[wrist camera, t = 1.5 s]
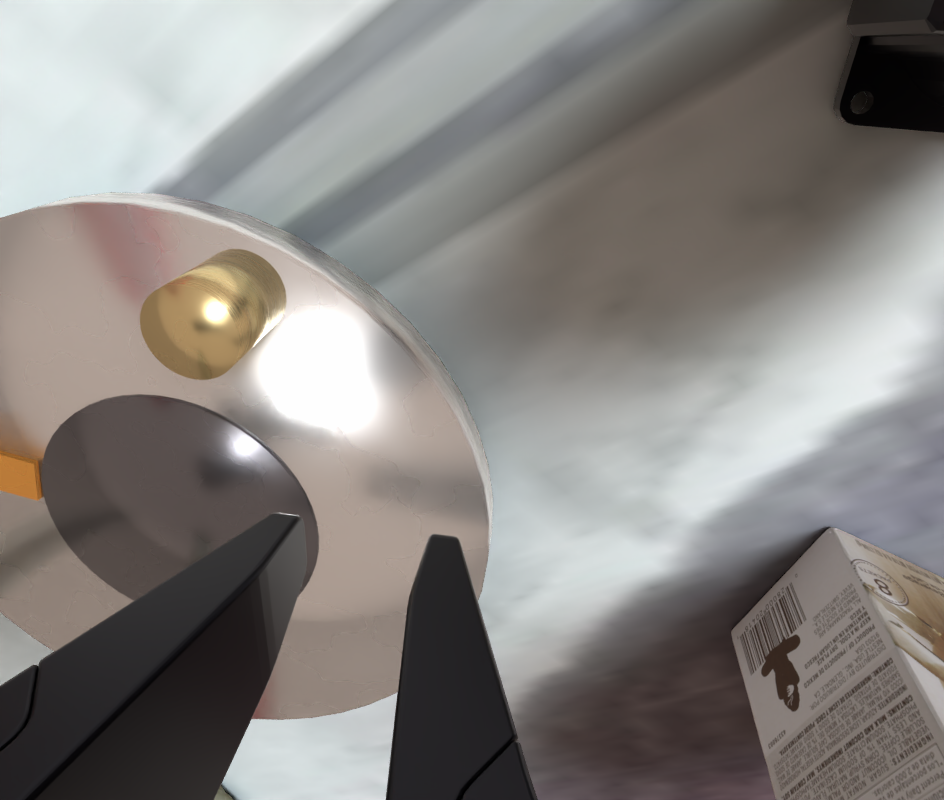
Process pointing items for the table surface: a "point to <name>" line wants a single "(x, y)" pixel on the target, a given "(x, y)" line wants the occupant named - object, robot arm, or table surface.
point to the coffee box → (848, 675)
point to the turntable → (221, 431)
